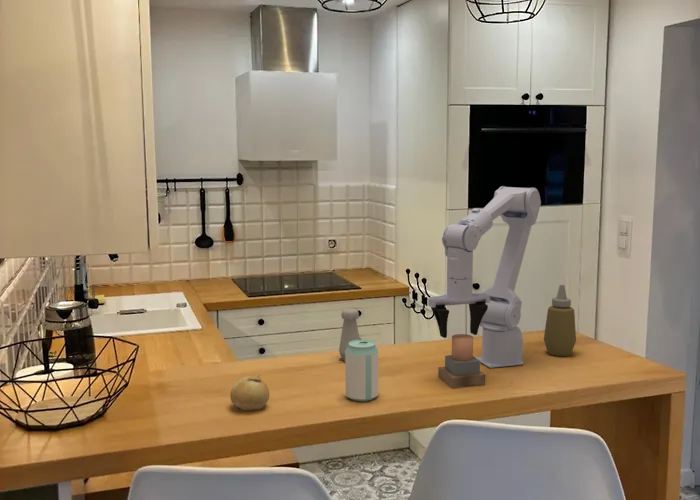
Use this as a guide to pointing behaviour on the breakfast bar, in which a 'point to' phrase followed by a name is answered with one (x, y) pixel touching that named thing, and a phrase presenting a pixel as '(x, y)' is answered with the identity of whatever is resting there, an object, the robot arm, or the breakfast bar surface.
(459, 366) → the charcoal block
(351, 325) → the salt shaker
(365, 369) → the can
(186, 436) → the breakfast bar surface
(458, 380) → the walnut slab
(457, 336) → the salmon cylinder
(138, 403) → the breakfast bar surface
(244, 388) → the onion
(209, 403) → the breakfast bar surface
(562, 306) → the squeeze bottle
